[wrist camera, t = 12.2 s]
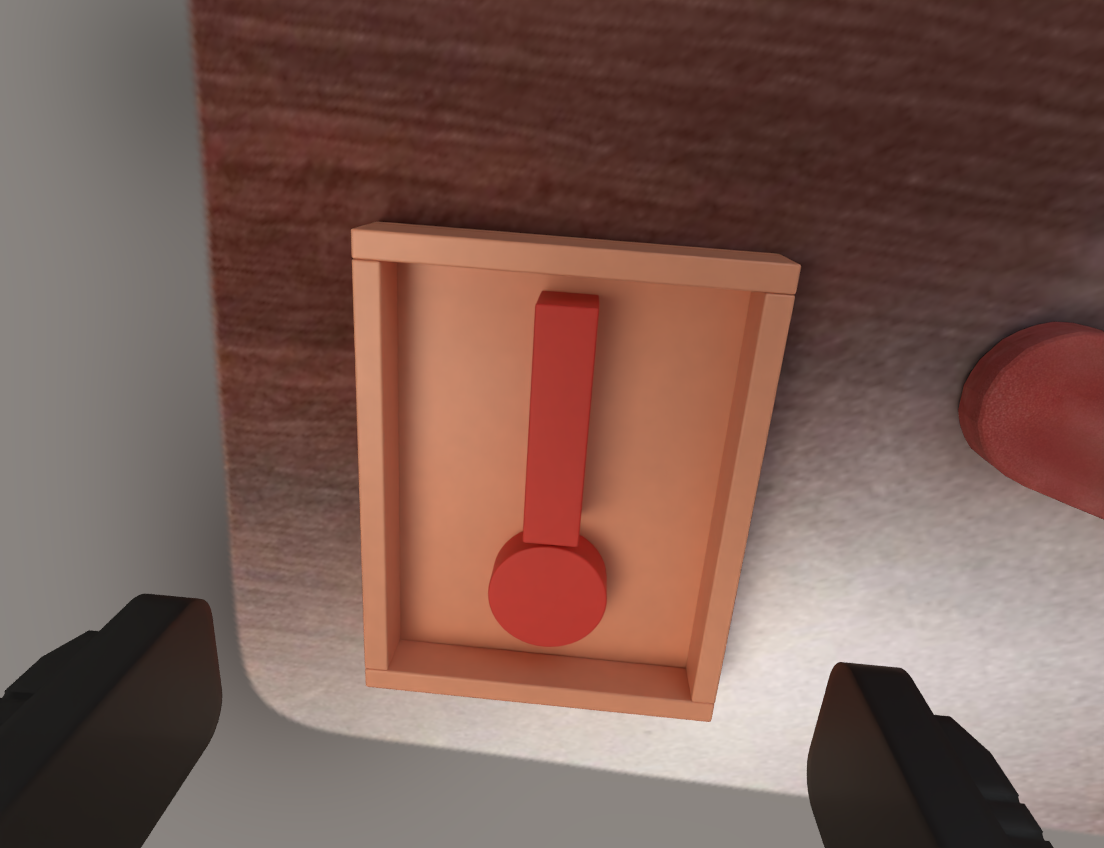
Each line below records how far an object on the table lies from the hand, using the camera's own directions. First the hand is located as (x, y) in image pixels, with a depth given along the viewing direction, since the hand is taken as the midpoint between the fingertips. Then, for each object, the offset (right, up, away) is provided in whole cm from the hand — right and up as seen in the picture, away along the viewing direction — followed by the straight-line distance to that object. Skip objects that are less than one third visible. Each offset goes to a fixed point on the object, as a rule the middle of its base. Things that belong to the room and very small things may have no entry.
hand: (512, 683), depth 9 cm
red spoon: (+1, +2, +11) cm, 11 cm away
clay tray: (+1, +2, +11) cm, 11 cm away
